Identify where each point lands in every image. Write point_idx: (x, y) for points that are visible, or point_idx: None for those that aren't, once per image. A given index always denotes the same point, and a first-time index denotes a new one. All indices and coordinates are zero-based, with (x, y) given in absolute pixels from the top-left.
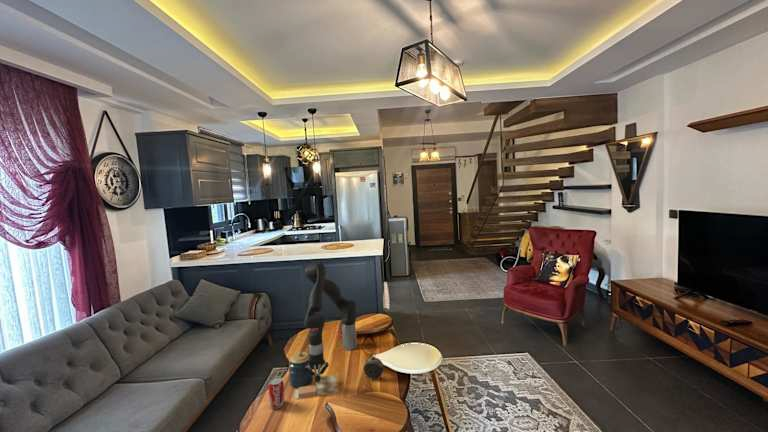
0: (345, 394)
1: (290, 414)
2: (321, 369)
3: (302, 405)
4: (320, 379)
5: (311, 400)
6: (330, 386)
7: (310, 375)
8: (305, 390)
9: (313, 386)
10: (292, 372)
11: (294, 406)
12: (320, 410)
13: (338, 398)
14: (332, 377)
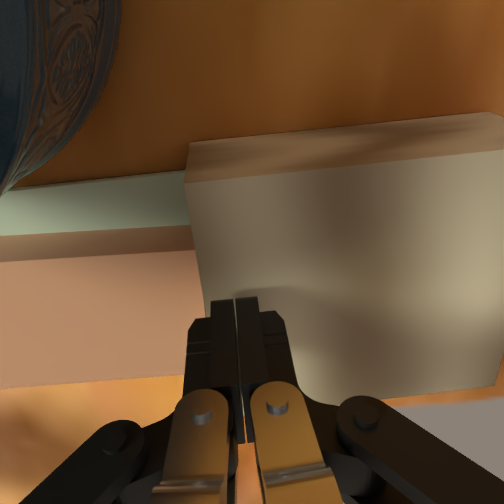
0: (500, 365)
1: (11, 499)
2: (362, 445)
3: (88, 434)
4: (280, 239)
5: (166, 392)
6: (397, 392)
7: (63, 115)
8: (67, 345)
9: (168, 288)
10: None
11: (11, 436)
12: (253, 487)
13: (421, 401)
14: (487, 224)
